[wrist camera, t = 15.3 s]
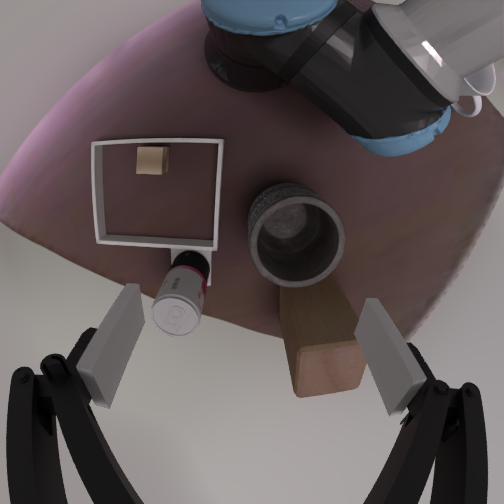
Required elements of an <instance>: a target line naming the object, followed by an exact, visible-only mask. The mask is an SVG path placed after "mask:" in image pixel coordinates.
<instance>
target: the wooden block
mask: <svg viewBox="0 0 504 504" xmlns="http://www.w3.org/2000/svg"><path fill="white" fill-rule="evenodd" d="M279 319H280V324H281V329H282V334H283V339H284V344H285V349H286V354H287V359H288V364H289V370H290V375H291V380H292V385H293V390H294V393H295V394H296V396H297V397H300V398H302V397H310V396H317V395H324V394H330V393H336V392H342V391H347V390H352V389H355V388H357V387H358V386H359V385H360V382H361V379H362V376H363V373H364V369H365V366H366V363H367V362H366V359H365V357H364V355H363V352H362V350H361V348H360V346H359V343H358V341H357V339H356V337H355V335H354V332H355V330H356V327H357V324H358V321H359V318H358V316H357V314H356V313H355V311H354V309H353V308H352V306H351V304H350V303H349V301H348V299H347V298H346V296H345V294H344V293H343V291H342V289H341V288H340V286H339V284H338V283H337V281H336V279H335V278H334V276H333V275H332V274H329V275H328V276H327V277H326V278H324V279H323V280H321V281H319V282H317V283H315V284H313V285H309V286H306V287H299V288H290V287H283V286H279Z"/></svg>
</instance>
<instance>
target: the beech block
mask: <svg viewBox="0 0 504 504" xmlns="http://www.w3.org/2000/svg"><path fill="white" fill-rule="evenodd" d="M169 151H170V147H166V146H142V147H138V150H137V169H136V174H159V175H162V174H164V173H166V172H168V165H169Z"/></svg>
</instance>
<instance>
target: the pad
mask: <svg viewBox="0 0 504 504" xmlns="http://www.w3.org/2000/svg"><path fill="white" fill-rule="evenodd" d="M184 251H195V252H198V253H200V254H202V255H203V256H204V257H205V258H206V259H207V261H208V263H209V266H210V273H209V278H208V283H207V286H211V257H212V251H209V250H192V249H176V248H171V265H172V263H173V261H174V259H175V258H176V256H177V255H178V254H180V253H182V252H184Z"/></svg>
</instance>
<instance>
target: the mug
mask: <svg viewBox="0 0 504 504" xmlns="http://www.w3.org/2000/svg"><path fill="white" fill-rule="evenodd" d="M495 79H496V76H495V69H494V66H493V63H492V64H490V65H488V66H486V67H484V68H482V69H480V70H479V71H477V72H475V73H473V74H471V75H469V76H467V77H466V78H464V79H463V80H462V82H461V87H460V94H459V96H472V98H473V101H474V105H475V107H474V110H473V111H471V112H467V111H465V110H463V109H462V108H461V107H460V106H459V105H458V104H457V102H455V103H453V104H451V106H452V107H453V108H454V110H455V111H456V112H458V113H459V114H460V115H462V116H465V117H473V116H475V115H477V114H478V113H479V112H480V110H481V106H482V101H481V96H483V95H489V94H490V93H492V91H493V89H494V87H495V82H496V80H495Z"/></svg>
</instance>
